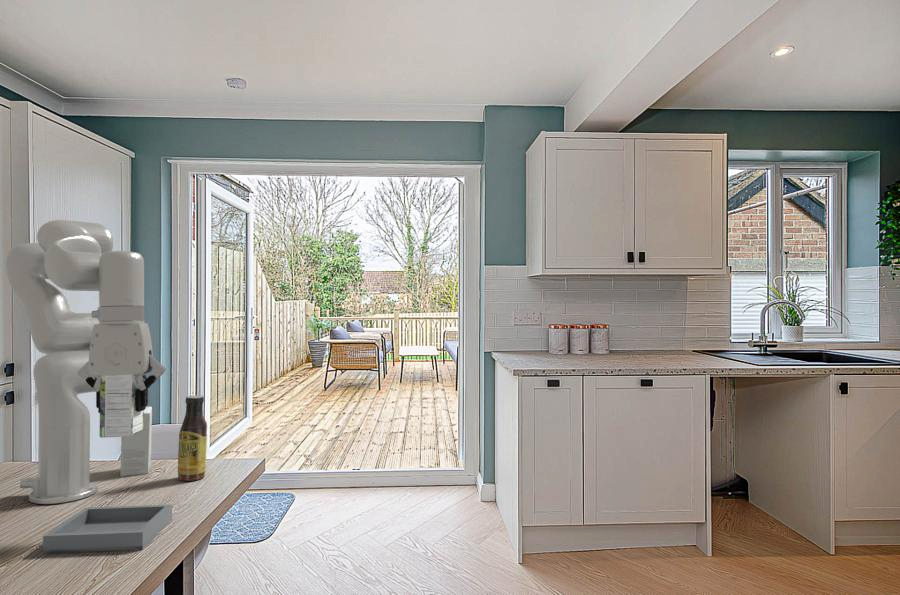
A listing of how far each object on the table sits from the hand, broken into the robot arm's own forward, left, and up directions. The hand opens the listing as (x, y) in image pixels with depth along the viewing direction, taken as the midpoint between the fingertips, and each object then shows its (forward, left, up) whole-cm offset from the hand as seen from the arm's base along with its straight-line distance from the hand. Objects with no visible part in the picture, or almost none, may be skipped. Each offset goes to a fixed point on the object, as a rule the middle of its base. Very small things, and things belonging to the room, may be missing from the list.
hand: (122, 410), depth 111 cm
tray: (0, -4, -22) cm, 22 cm away
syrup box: (0, 0, -5) cm, 5 cm away
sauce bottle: (+3, +31, -22) cm, 38 cm away
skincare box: (-13, +39, -22) cm, 46 cm away
